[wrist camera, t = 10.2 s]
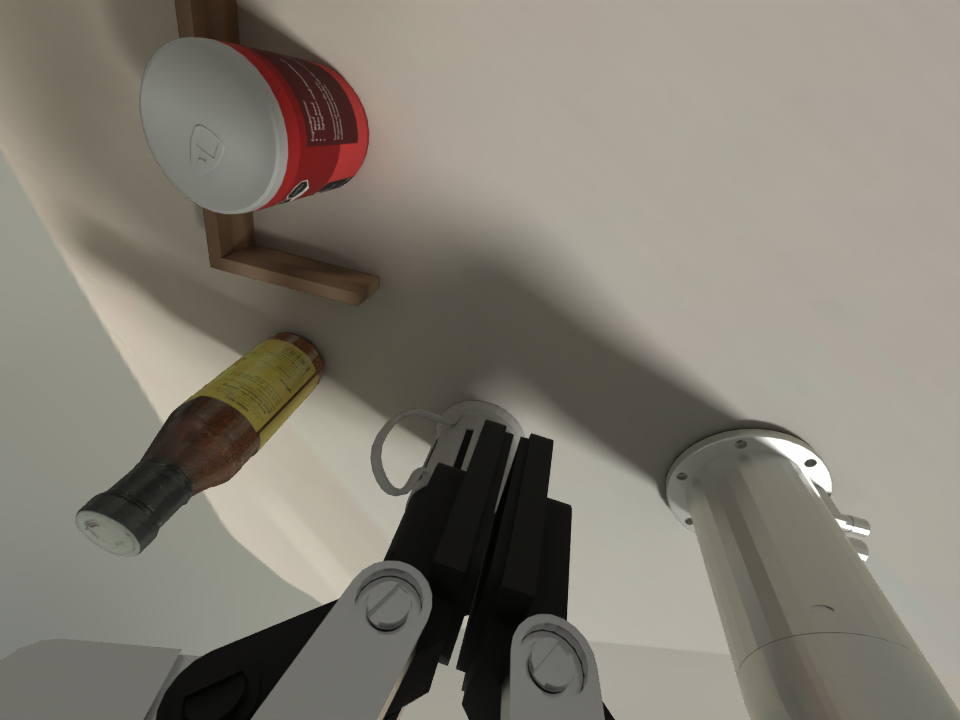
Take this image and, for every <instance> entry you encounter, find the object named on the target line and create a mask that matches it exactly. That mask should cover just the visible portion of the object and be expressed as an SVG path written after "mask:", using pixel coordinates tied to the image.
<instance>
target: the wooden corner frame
mask: <svg viewBox="0 0 960 720" xmlns="http://www.w3.org/2000/svg"><path fill="white" fill-rule="evenodd" d="M175 7H176V15H177V22H178V29H179V37H180V38H186V37H194V38H197V37H201V38H208V39H214V40H218V41H223V42H229V43H234V44H238V45H239V37H238V24H237V12H236V0H175ZM203 214H204V222H205V229H206V236H207V244H208V251H209V259H210V266H211V267H212V268H215V269H219V270H223V271H227V272H231V273H234V274H238V275H242V276H246V277H249V278H253V279H257V280H261V281H265V282H268V283H272V284H276V285H280V286H284V287H287V288H291V289H295V290H299V291H302V292H306V293H310V294H314V295H318V296H321V297H325V298H329V299H333V300H337V301H340V302H344V303H348V304H352V305H355V306H358V305H359V304H360V303H362V302H363V301H364V300H365V299H366V298H368V297H369V296H370V295H371V294H372V293H373V292H375V291H376V290H377V289H378V288H379V277H378V276H374V275H370V274H366V273H362V272H358V271H354V270H350V269H346V268H343V267H339V266H335V265H331V264H327V263H323V262H319V261H315V260H312V259H308V258H304V257H300V256H296V255H292V254H288V253H284V252H281V251H277V250H273V249H269V248H265V247H261V246H257V245H255V240H254V228H253V215H252V211H251V212H248V213H239V214H223V213H218V212H213V211H211V210H208V209H206V208H203Z"/></svg>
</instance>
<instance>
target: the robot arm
mask: <svg viewBox="0 0 960 720" xmlns="http://www.w3.org/2000/svg"><path fill="white" fill-rule="evenodd" d="M506 428H507V426H506V425H503V424H500V423H497V422H494V421H490V420H487V419H486V420H485V422H484V425H483V427H482V430H481V433H480V436H479V438H478V441H477V444H476V446H475V449H474V452H473V454H472V457H471V460H470V463H469V465H468V468H467V471H464V470H461V469H458V468H455V467H452V466H449V465H446V464H443V463H440V462H439V463H438V464H437V465H436V467H435V469H434V471H433V474H432V476H431V478H430V480H429V482H428V484H427V486H426V489H425V491H424V493H423V495H422V497H421V499H420V501H419V504H418V506H417V508H416V510H415V512H414V514H413V516H412V518H411V521H410V523H409V525H408V527H407V529H406V531H405V533H404V536H403V538H402V540H401V542H400V544H399V546H398V548H397V551H396V553H395V555H394V557H393V559H392V561H383V562H379V563H374V564H373V565H371V566H369V567H367V568H365V569H364V570H362V571H361V572H360V573H359V574H358V575H357V576H356V577H355V578H354V579H353V581H352V582H351V583H350V585H349V586H348V588H347V589H346V590H345V592H344V593H343V594H342V596H341V597H340V598H339V599H337V600H335V601H332V602H330V603H327V604H325V605H323V606H320V607H318V608H315V609H313V610H310V611H308V612H306V613H303V614H301V615H298V616H296V617H293V618H291V619H288V620H286V621H284V622H281V623H279V624H277V625H274V626H271V627H269V628H267V629H264V630H262V631H259V632H257V633H255V634H252V635H250V636H247V637H245V638H243V639H240V640H237V641H235V642H233V643H230V644H228V645H225V646H223V647H220V648H218V649H216V650H213V651H211V652H209V653H208V654H205V655H204V656H191V655H183V654H182V650H181V649H172V648H161V647H149V646H137V645H125V644H114V643H103V642H90V641H80V640H68V639H54V640H43V641H39V642H36V643H33V644H31V645H28V646H25V647H22V648H20V649H18V650H16V651H15V652H13V653H11V654H10V655H9V656H7V657H5V658H3V659H2V660H0V720H400V717H401V715H402V713H403V711H404V708H405V706H406V705H407V704H409V703H411V702H412V701H414V700H415V699H417V698H419V697H421V696H423V695H424V694H426V693H428V692H429V690H430V687H431V683H432V680H433V677H434V674H435V670H436V667H437V664H438V662H439V663H441V664H444V665H448V663H449V661H450V658H451V655H452V651H453V649H454V646H455V643H456V640H457V637H458V634H459V631H460V628H461V625H462V622H463V619H464V616H465V613H466V610H467V607H468V604H469V601H470V598H471V595H472V592H473V589H474V586H475V583H476V580H477V576H478V573H479V569H480V566H481V562H482V558H483V554H484V550H485V547H486V543H487V539H488V535H489V531H490V527H491V523H492V519H493V515H494V511H495V507H496V503H497V499H498V496H499V492H500V488H501V484H502V480H503V476H504V472H505V468H506V464H507V460H508V456H509V452H510V448H511V444H512V441H513V437H514V434H512V433H508V432H506ZM552 451H553V440H551V439H548V438H545V437H542V436H538V435H535V434H532V433H531V435H530V437H529V439H528V438H524V437H521V438H520V440H519V443H518V446H517V449H516V452H515V455H514V458H513V461H512V464H511V468H510V471H509V474H508V477H507V480H506V483H505V486H504V489H503V492H502V495H501V498H500V501H499V504H498V507H497V510H496V513H495V516H494V520H493V523H492V527H491V531H490V535H489V539H488V543H487V547H486V551H485V555H484V559H483V563H482V567H481V571H480V575H479V579H478V583H477V587H476V591H475V595H474V598H473V602H472V606H471V610H470V614H469V618H468V622H467V626H466V630H465V634H464V638H463V643H462V646H461V650H460V654H459V658H458V662H457V666H456V669H457V670H460V671H463V672H466V673H465V677H464V682H463V686H462V691H464V697H463V701H462V706H463V708H464V710H465V712H466V714H467V716H468V719H469V720H615V719H614V718H613V716H612V715H611V713H610V712H609V710H608V709H607V707H606V706H605V704H604V703H603V701H602V697H601V690H600V683H599V676H598V669H597V665H596V661H595V657H594V654H593V651H592V649H591V648H590V646H589V644H588V642H587V640H586V638H585V637H584V636H583V635H582V634H581V633H580V632H579V631H578V630H577V628H576V627H574V626H573V625H572V624H570V623H569V622H567V604H568V583H569V562H570V541H571V520H572V508H571V505H568V504H565V503H562V502H559V501H556V500H553V499H550V498H547V493H548V485H549V476H550V468H551V460H552ZM665 490H666V495H667V500H668V503H669V506H670V509H671V511H672V512H673V514H674V515H675V517H676V518H677V519H678V520H679V521H680V523H681V524H682V525H684V526H685V527H687V528H688V529H690V530H691V531H693V532H694V533H696V535H697V539H698V542H699V546H700V549H701V553H702V556H703V560H704V563H705V567H706V570H707V574H708V577H709V581H710V584H711V588H712V591H713V595H714V598H715V602H716V605H717V609H718V612H719V616H720V619H721V622H722V626H723V629H724V633H725V636H726V640H727V643H728V647H729V650H730V654H731V657H732V661H733V664H734V668H735V671H736V674H737V678H738V682H739V685H740V689H741V692H742V696H743V699H744V703H745V706H746V708H747V711H748V714H749V716H750V718H751V720H960V711H959V709H958V708H957V706H956V705H955V703H954V702H953V700H952V699H951V697H950V696H949V694H948V693H947V691H946V690H945V688H944V686H943V685H942V683H941V682H940V680H939V679H938V677H937V676H936V674H935V672H934V671H933V669H932V668H931V666H930V665H929V663H928V662H927V660H926V658H925V657H924V655H923V654H922V652H921V651H920V649H919V648H918V646H917V645H916V643H915V641H914V640H913V638H912V637H911V635H910V634H909V632H908V631H907V629H906V628H905V626H904V624H903V623H902V621H901V620H900V618H899V617H898V615H897V614H896V612H895V611H894V609H893V607H892V606H891V604H890V603H889V601H888V600H887V598H886V597H885V595H884V593H883V592H882V590H881V589H880V587H879V586H878V584H877V583H876V581H875V580H874V578H873V576H872V575H871V573H870V572H869V570H868V569H867V567H866V566H865V564H864V562H865V561H866V560H867V558H868V548H867V546H866V544H865V543H864V542H863V541H861V540H858V539H854V538H851V537H847V536H846V535H845V533H844V532H843V531H845V532H847V533H851V534H855V535H858V536H863V537H865V536H867V535H868V534H869V532H870V525H869V522H868V521H866V520H865V519H861V518H858V517H854V516H850V515H844V514H841V513H840V512H839V510H838V509H837V507H836V506H835V504H834V503H833V501H832V500H831V498H830V496H831V493H832V478H831V475H830V472H829V469H828V468H827V466H826V464H825V463H824V461H823V460H822V458H821V457H820V456H819V455H818V454H817V453H816V451H815V450H814V449H813V448H812V447H810V446H809V445H807V444H806V443H805V442H803V441H802V440H800V439H797V438H795V437H793V436H791V435H788V434H785V433H781V432H777V431H773V430H764V429H739V430H733V431H727V432H723V433H719V434H716V435H713V436H710V437H708V438H706V439H703V440H701V441H699V442H697V443H695V444H694V445H692V446H691V447H690V448H688V449H687V450H685V451H684V452H683V453H682V454H681V455H680V456H679V457H678V458H677V459H676V460H675V462H674V463H673V465H672V466H671V468H670V470H669V473H668V475H667V478H666V488H665Z"/></svg>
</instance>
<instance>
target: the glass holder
mask: <svg viewBox="0 0 960 720" xmlns="http://www.w3.org/2000/svg"><path fill="white" fill-rule="evenodd" d="M411 415H418V416H422V417H426V418H429V419H431V420H433V421H436V422H437V425H436V438H435V440H434V442H433V445H432V447H431V449H430V451H429V454H428V456H427V458H426V460H425V463H424V465H423V467H421V468H417V469H416V470H414V471H413V473H412V474H411V476H410V478H409V480H408V481H407V483H406V484H405V486H404V487H403V488H401V489H398V488H395V487H394V486H393V485H392V484H391V483H390V482H389V480H388V478H387V477H386V474H385V472H384V469H383V466H382V460H381V452H382V445H383V443H384V441H385V438H386V436H387V434H388V433H389V432H390V430H391V429H392V428H393V426H394V425H395V424H396V423H397V422H398V421H400V420H401V419H402V418H404V417H407V416H411ZM486 419H487V420H490V421H494V422H497V423H500V424H503V425H506V426H507V428H506V432H508V433H512V434H514V437H513V441H512V444H511V448H510V452H509V456H508V460H507V464H506V468H505V472H504V476H503V480H502V484H501V488H500V492H499V496H498V499H497V503H496V507H495V511H494V515H493V519H492V523H493V520H494V516H495V513H496V510H497V507H498V504H499V501H500V498H501V495H502V492H503V489H504V486H505V483H506V480H507V477H508V474H509V471H510V468H511V464H512V461H513V458H514V455H515V452H516V449H517V446H518V443H519V440H520V438H521V437H524V438H525V436H524V433H523V430H522V428H521V426H520V425H519V423H518V421H517V420H516V419H515V418H514V417H513V416H512V415H511V414H509V413H508V412H507V411H506V410H504V409H502V408H500V407H499V406H496V405H493V404H491V403H487V402H482V401H465V402H461V403H458V404H455V405H453V406H451V407H450V408H448V409H447V410H446V411H445V412H444V413H443V414H442V415H441V416H440V415H438V414H436V413H433V412H430V411H427V410H423V409H419V408H415V409H411V410H407V411H404V412H402V413H400V414H397V415H395V416H394V417H393V418H392V419H390V420H389V421H388V422H387V423H386V424H385V425H384V426H383V428H382V429H381V430H380V432H379V433H378V434H377V436H376V438H375V441H374V443H373V445H372V450H371V465H372V471H373V473H374V476H375V478H376V481H377V483H378V484H379V486H380V487H381V489H382V490H383V491H385V492H386V493H387V494H389V495H393V496H399V495H404V494H407V493H408V492H410V491H411V490H412V492H411V494H410V496H409V498H408V501H407V504H406V509H405V513H404V515H403V518H402V520H401V522H400V524H399V527H398V529H397V531H396V533H395V536H394V538H393V540H392V543H391V545H390V547H389V549H388V552H387V554H386V556H385V558H384V561H392V559H393V557H394V555H395V553H396V551H397V548H398V546H399V544H400V542H401V540H402V538H403V536H404V533H405V531H406V529H407V527H408V525H409V523H410V521H411V518H412V516H413V514H414V512H415V510H416V508H417V506H418V504H419V501H420V499H421V497H422V495H423V493H424V491H425V489H426V486H427V484H428V482H429V480H430V478H431V476H432V474H433V471H434V469H435V467H436V465H437V464H438V463H439V462H440V463H443V464H446V465H449V466H452V467H455V468H458V469H461V470H464V471H467V468H468V465H469V463H470V460H471V457H472V454H473V452H474V449H475V446H476V444H477V441H478V438H479V436H480V433H481V430H482V427H483V425H484V422H485V420H486ZM492 523H491V527H492ZM491 527H490V531H491ZM490 531H489V535H490ZM489 535H488V539H489ZM488 539H487V543H488ZM487 543H486V547H487ZM486 547H485V550H484V554H483V558H482V562H481V566H480V569H479V573H478V576H477V580H476V583H475V586H474V589H473V592H472V595H471V598H470V601H469V604H468V607H467V610H466V613H465V616H467V615H469V614H470V610H471V606H472V602H473V598H474V595H475V591H476V587H477V583H478V579H479V575H480V571H481V567H482V563H483V559H484V555H485V551H486Z"/></svg>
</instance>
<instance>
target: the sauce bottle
mask: <svg viewBox="0 0 960 720" xmlns="http://www.w3.org/2000/svg"><path fill="white" fill-rule="evenodd" d="M322 373H323V361H322V359H321V357H320V354H319V353H318V351H317V350H316V349H315V348H314V346H313V345H312V344H311V343H309V342H308V341H307V340H305V339H304V338H302V337H300V336H297V335H294V334H289V333H280V334H277V335H275V336H273V337H272V338H270V339H268V340H266V341H263V342H262V343H260V344H259V345H257V346H256V347H255V348H254V349H252V350H251V351H250V352H248V353H247V354H246V355H244V356H243V357H242V358H240V359H239V360H238V361H236V362H235V363H234V364H233V365H231V366H230V367H229V368H227V369H226V370H225V371H223V372H222V373H221V374H219V375H218V376H217V377H216V378H215V379H214V380H212V381H211V382H210V383H208V384H207V385H205V386H204V387H203V388H202V389H201V390H199V391H198V392H197V393H196V394H194V395H193V396H191V397H190V398H189V399H188V400H186V401H185V402H184V403H183V404H181V405H180V406H179V407H178V408H176V409H175V410H174V411H173V412H172V413H171V414H170V416H169V417H168V419H167V420H166V422H165V424H164V425H163V427H162V428H161V430H160V431H159V433H158V434H157V436H156V437H155V439H154V440H153V442H152V443H151V445H150V447H149V448H148V450H147V451H146V453H145V455H144V456H143V458H142V459H141V461H140V462H139V463H138V464H137V465H136V466H135V467H134V468H133V470H131V471H130V472H129V473H128V474H127V475H125V476H124V477H123V478H122V479H121V480H119V481H118V482H117V483H116V484H115V485H114V486H113V487H111V488H110V489H109V490H107V491H106V492H104V493H100V494H98V495H96V496H94V497H93V498H92V499H91V500H90V501H89V502H88V503H87V504H86V505H85V506H83V507H82V508H81V509H80V510H79V511H78V513H77V514H76V521H75V522H76V525H77V528H78V530H79V531H80V532H81V533H82V535H84V536H85V537H86V538H87V539H88V540H90V541H91V542H92V543H94V544H95V545H97V546H98V547H100V548H101V549H104V550H105V551H107V552H109V553H111V554H114V555H117V556H122V557H132V556H136V555H138V554H140V553H141V552H142V551H143V550H144V549H145V548H146V547H147V546H148V545H149V544H150V543H151V542H152V541H153V540H154V539H155V537H156V536H157V533H158V531H159V529H160V527H161V526H162V525H163V524H164V523H165V522H166V521H167V520H168V519H169V518H170V517H171V516H172V515H173V514H174V513H175V512H176V511H177V510H178V509H179V508H180V507H181V506H182V505H185V504H187V502H188V500H189V499H190V497H192V496H194V495H195V494H197V493H199V492H201V491H203V490H206V489H208V488H210V487H215V486H217V485H220V484H223V483H225V482H227V481H229V480H230V479H231V478H232V477H233V476H234V475H235V474H236V473H237V472H238V471H239V470H240V469H241V467H242V466H243V465H244V464H245V463H246V462H247V461H248V460H249V459H250V457H252V456H254V455H255V454H256V453H257V452H258V451H259V450H260V449H261V448H262V446H263V445H264V444H265V443H266V442H267V441H268V440H269V439H270V438H271V436H272V435H273V434H274V433H275V432H276V431H277V430H278V429H279V428H280V426H281V425H282V424H283V423H284V422H285V421H286V420H287V419H288V418H289V417H290V415H291V414H292V413H293V412H294V411H295V410H296V409H297V408H298V407H299V405H300V404H301V403H302V402H303V401H304V400H305V399H306V398H307V397H308V396H309V394H310V393H311V392H312V391H313V390H314V389H315V387H316V385H317V384H319V382H320V379H321V377H322Z"/></svg>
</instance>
